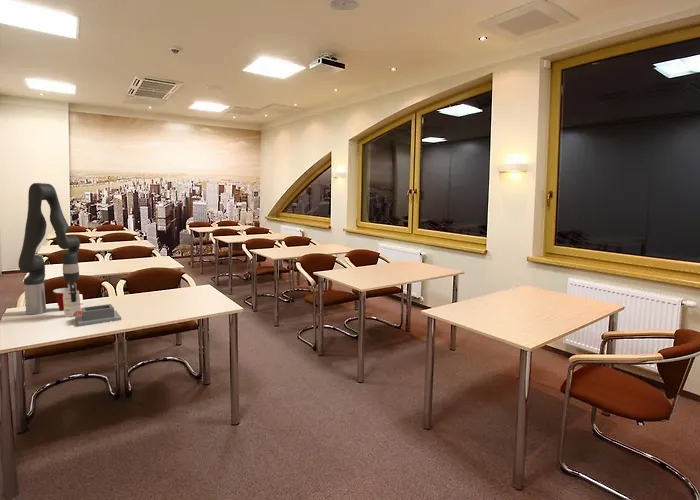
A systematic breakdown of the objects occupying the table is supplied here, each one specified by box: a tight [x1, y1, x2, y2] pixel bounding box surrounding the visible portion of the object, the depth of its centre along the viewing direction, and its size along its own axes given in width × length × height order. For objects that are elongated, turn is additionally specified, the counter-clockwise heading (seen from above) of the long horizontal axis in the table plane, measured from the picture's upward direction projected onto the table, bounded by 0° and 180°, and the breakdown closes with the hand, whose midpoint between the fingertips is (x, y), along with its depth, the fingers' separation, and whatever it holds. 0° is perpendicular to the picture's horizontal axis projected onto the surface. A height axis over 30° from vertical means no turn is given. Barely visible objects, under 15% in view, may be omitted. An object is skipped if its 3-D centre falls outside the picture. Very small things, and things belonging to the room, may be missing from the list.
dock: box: [74, 303, 122, 327], centre depth 231 cm, size 20×17×6 cm
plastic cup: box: [52, 287, 70, 311], centre depth 248 cm, size 11×11×12 cm
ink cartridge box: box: [63, 290, 84, 317], centre depth 237 cm, size 9×5×15 cm, turn 105°
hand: (73, 300), depth 236 cm, fingers closed on ink cartridge box, 6 cm apart
